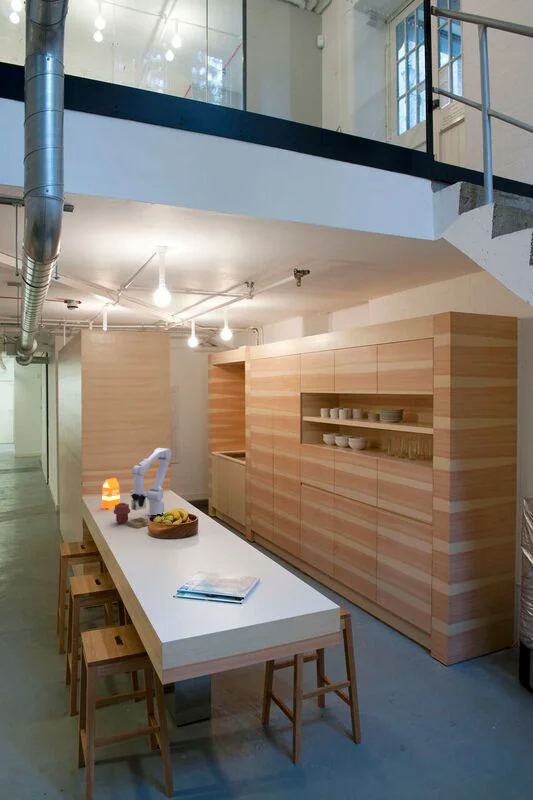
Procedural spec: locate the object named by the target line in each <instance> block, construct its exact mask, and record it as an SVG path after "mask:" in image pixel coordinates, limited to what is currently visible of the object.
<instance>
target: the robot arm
mask: <svg viewBox="0 0 533 800" xmlns="http://www.w3.org/2000/svg"><path fill="white" fill-rule="evenodd" d="M172 455H173V453H172V451H171V448H167V447H166V448H165V447H164V448H163V447H157V448H155V449H154V450H153V453H152V454H151V455H150V456H149V457H148V458H143V459H142V461H140V462H139V463H138V464H136V465H134V466H133V467H132V468H131V473H132V477H133V489H131V490H129V493H130V494H131V495H130V497H131V499H132V500H136V499H139V505H140V507H143V504H144V501H145V499H146V500H147V501H148V504H149V505H148V513H146V515H147V516H151V515H156V514H160V513H163V512H164V513H165V502H164V500H163V498H164V490H163V489H164V488H162V486H163V483H164V481H165V478H166V477H165V476H166V474H167V470H168V468H169V465H170V461H171V458H172ZM156 460H158V462H159V467H158V469H157V472H156V476H155V479H154V483H153V485H152V486H150V487H149V488H148V491H147V492H146V491H145V490H144V475H145V473H146V471H147V469H149V467H151V466H152V463H153V462H155V461H156Z"/></svg>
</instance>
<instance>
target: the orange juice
mask: <svg viewBox="0 0 533 800" xmlns="http://www.w3.org/2000/svg"><path fill="white" fill-rule="evenodd" d="M101 491H102V493H101V497H102V502H101V503H102V505H101V506H102V509H105V508H108V509H107V510H112V509H111V508H113V509H115V505H116V504H119V503H121V501H120V499H121V495H120V494H121V493H120V484H119V483H118V481H117V478H116V477H113V478H107V479H105V481H104V482H103V485H102V489H101Z"/></svg>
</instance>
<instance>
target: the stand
mask: <svg viewBox="0 0 533 800" xmlns="http://www.w3.org/2000/svg"><path fill="white" fill-rule="evenodd" d="M148 519H149V518H144V517H137V518H133V519H130V520H129V519H128V521H126V524H125V526H127V525H128V527H131V526H132V528H134V527H135V528H134V529H142V528H143V527H148V526H147V524H148Z"/></svg>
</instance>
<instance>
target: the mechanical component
mask: <svg viewBox="0 0 533 800" xmlns="http://www.w3.org/2000/svg"><path fill="white" fill-rule="evenodd" d="M130 513H131V509H130V504H129V503H125V502H120V503H119V504H116V505H115V508H114V509H113V515H115V521H116V524H117V525H123V524H122V523H126V521H129V514H130Z"/></svg>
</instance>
